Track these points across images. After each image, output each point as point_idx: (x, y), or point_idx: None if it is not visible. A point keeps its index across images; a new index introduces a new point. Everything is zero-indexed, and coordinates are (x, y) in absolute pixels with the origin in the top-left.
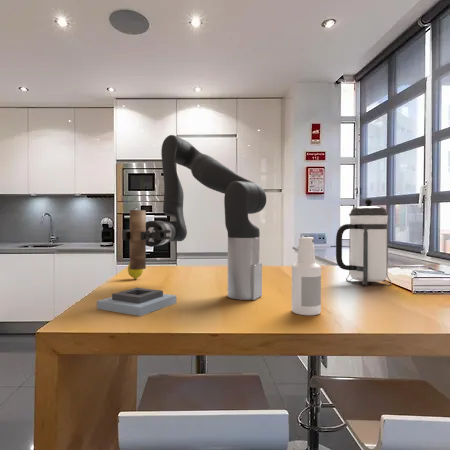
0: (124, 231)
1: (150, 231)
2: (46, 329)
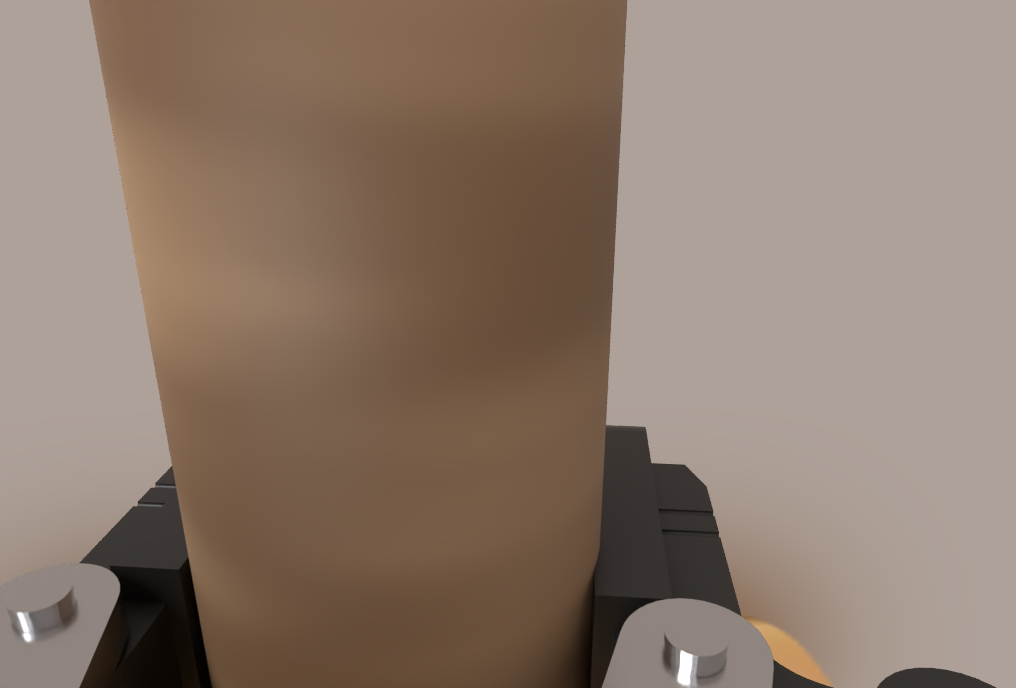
0: (640, 430)
1: (56, 584)
2: (785, 644)
